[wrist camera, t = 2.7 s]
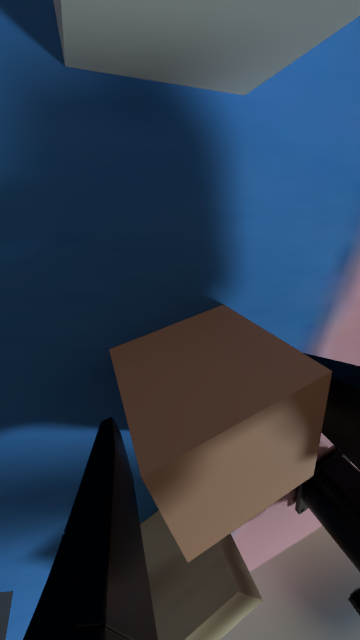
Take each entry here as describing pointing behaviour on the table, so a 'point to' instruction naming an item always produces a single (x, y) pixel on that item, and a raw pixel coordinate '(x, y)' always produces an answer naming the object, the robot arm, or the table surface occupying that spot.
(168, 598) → the birch block
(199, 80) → the off-white block
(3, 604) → the charcoal block
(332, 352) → the table surface
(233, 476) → the brown block
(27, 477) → the table surface
